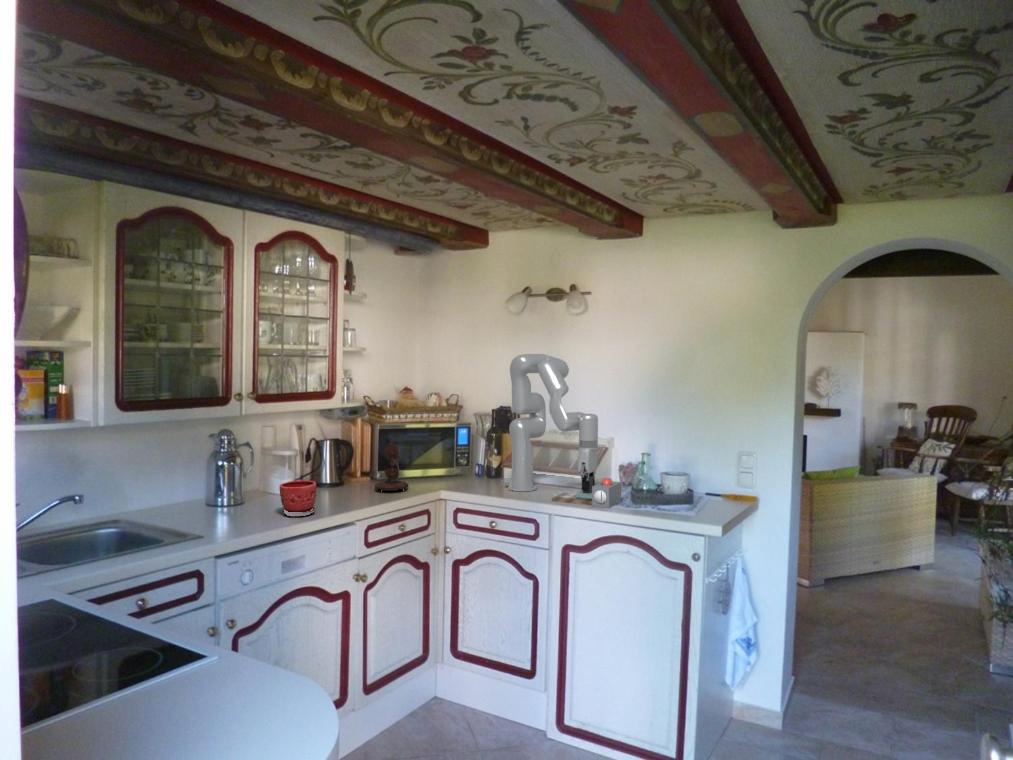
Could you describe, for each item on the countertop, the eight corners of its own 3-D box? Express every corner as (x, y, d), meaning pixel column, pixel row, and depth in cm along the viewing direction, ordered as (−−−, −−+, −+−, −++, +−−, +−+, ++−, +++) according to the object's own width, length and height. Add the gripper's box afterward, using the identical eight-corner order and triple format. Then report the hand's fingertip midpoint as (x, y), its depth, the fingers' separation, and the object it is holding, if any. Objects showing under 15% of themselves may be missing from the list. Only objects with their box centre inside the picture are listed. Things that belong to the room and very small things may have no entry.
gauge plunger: (601, 491, 286) (601, 479, 286) (604, 490, 290) (604, 477, 289) (609, 492, 285) (609, 480, 285) (612, 491, 288) (612, 478, 288)
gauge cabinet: (591, 506, 282) (591, 486, 282) (604, 500, 295) (604, 480, 295) (608, 508, 279) (608, 488, 279) (621, 501, 292) (621, 482, 292)
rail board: (551, 500, 294) (551, 495, 294) (560, 496, 302) (560, 491, 302) (594, 505, 285) (594, 499, 285) (602, 501, 293) (602, 495, 293)
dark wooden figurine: (410, 493, 310) (409, 446, 309) (375, 494, 307) (375, 447, 306) (406, 486, 325) (406, 442, 324) (373, 488, 321) (373, 443, 320)
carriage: (575, 497, 289) (576, 477, 289) (583, 493, 296) (584, 474, 296) (592, 498, 286) (592, 478, 285) (599, 495, 293) (600, 475, 293)
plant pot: (286, 511, 275) (286, 479, 274) (320, 511, 274) (320, 480, 274) (274, 519, 262) (274, 486, 261) (310, 519, 261) (310, 486, 261)
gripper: (587, 441, 300) (587, 485, 300) (571, 446, 285) (571, 492, 285) (604, 442, 296) (604, 486, 297) (589, 447, 281) (588, 494, 282)
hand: (588, 489), depth 291 cm, fingers open, 4 cm apart
